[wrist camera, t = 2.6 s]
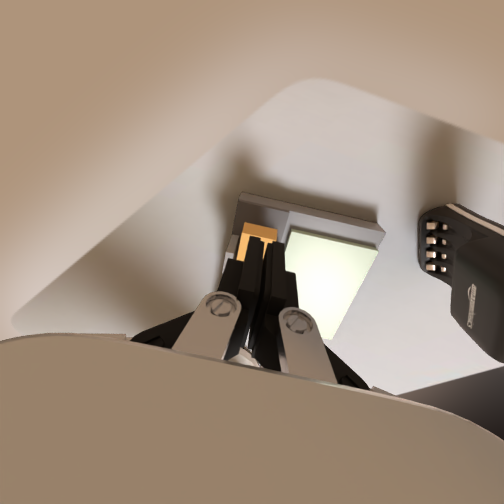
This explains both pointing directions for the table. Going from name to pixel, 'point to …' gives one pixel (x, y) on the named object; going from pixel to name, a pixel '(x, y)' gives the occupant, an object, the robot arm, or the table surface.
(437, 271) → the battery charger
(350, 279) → the grey holder stand
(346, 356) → the table surface
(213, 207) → the table surface
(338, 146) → the table surface
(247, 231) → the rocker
